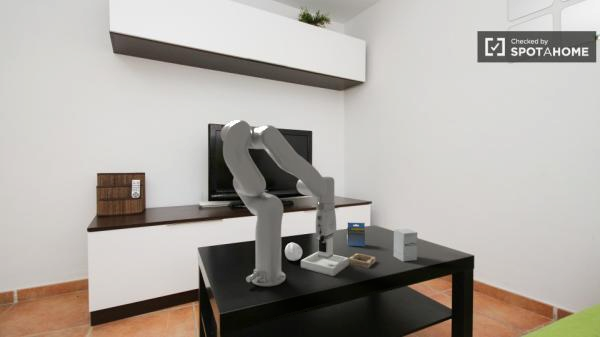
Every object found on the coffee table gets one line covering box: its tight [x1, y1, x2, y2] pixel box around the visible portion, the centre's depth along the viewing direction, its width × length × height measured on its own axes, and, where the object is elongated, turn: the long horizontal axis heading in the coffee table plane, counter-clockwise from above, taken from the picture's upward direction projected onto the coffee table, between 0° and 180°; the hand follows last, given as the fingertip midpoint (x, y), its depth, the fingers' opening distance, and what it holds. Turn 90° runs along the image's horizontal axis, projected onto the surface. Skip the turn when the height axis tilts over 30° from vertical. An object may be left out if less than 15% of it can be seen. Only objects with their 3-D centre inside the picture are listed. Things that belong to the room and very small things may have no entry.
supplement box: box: [393, 228, 418, 262], centre depth 123 cm, size 7×7×13 cm
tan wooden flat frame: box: [348, 252, 377, 269], centre depth 118 cm, size 9×9×2 cm
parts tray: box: [300, 251, 350, 277], centre depth 114 cm, size 14×15×3 cm
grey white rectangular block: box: [317, 233, 334, 259], centre depth 114 cm, size 4×4×9 cm
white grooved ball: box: [284, 242, 303, 262], centre depth 121 cm, size 8×8×8 cm
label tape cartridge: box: [346, 222, 366, 247], centre depth 142 cm, size 9×4×12 cm, turn 84°
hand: (325, 249), depth 114 cm, fingers closed on grey white rectangular block, 4 cm apart
